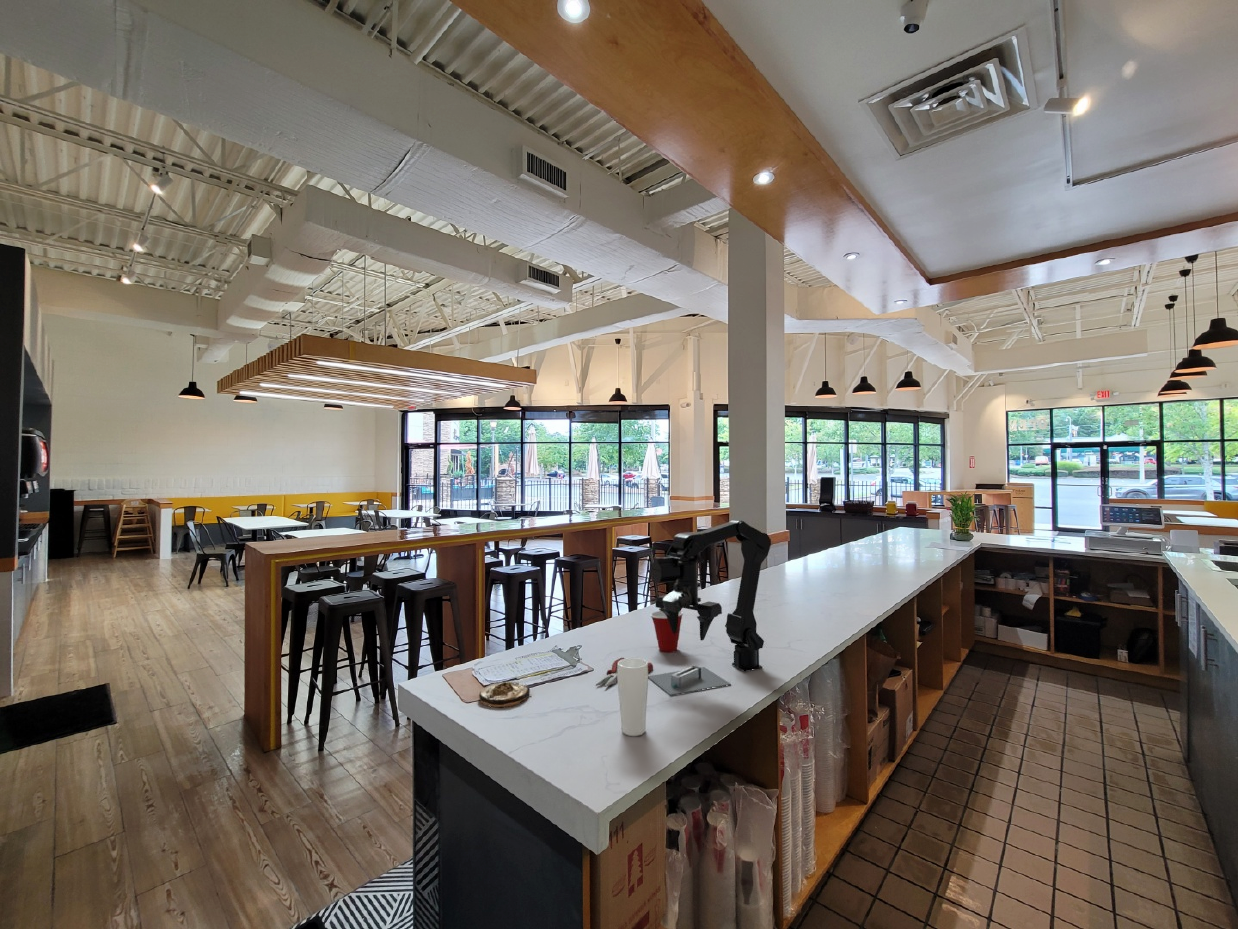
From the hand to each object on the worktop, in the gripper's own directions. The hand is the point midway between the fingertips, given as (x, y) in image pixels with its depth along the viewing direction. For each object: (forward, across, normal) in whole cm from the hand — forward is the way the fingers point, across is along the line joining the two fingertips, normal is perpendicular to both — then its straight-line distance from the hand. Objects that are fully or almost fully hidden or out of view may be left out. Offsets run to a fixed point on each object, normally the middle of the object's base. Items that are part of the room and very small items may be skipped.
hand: (688, 637), depth 148 cm
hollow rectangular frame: (+10, +1, +3) cm, 10 cm away
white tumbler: (+12, +8, -32) cm, 35 cm away
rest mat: (+12, 0, -1) cm, 12 cm away
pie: (+12, -28, -40) cm, 51 cm away
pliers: (+13, -18, -9) cm, 24 cm away
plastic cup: (+12, -21, +17) cm, 30 cm away
